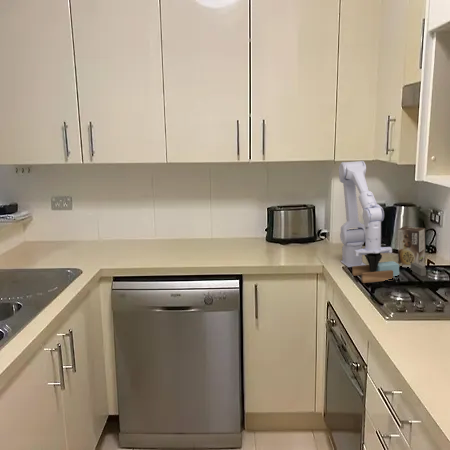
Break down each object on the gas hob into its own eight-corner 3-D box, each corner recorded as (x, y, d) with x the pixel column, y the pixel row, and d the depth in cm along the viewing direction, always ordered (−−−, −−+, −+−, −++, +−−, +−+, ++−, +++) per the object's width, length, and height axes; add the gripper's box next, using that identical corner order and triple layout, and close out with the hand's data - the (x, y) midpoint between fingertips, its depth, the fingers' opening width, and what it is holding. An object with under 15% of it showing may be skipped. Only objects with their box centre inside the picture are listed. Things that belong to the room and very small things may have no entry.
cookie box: (425, 266, 196) (426, 227, 193) (418, 269, 191) (419, 230, 188) (404, 262, 202) (404, 225, 199) (397, 266, 198) (397, 228, 195)
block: (373, 275, 188) (373, 262, 187) (393, 273, 189) (393, 261, 188) (379, 278, 184) (379, 266, 183) (399, 276, 184) (399, 264, 183)
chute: (352, 274, 190) (352, 266, 190) (380, 271, 192) (380, 263, 191) (363, 282, 180) (363, 274, 179) (393, 279, 181) (393, 271, 181)
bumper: (410, 270, 192) (410, 263, 191) (415, 269, 192) (415, 262, 191) (421, 275, 184) (421, 268, 183) (425, 275, 184) (426, 268, 183)
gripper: (359, 241, 178) (359, 276, 181) (395, 238, 180) (395, 273, 182) (352, 237, 185) (352, 271, 188) (387, 234, 186) (387, 267, 189)
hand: (373, 271), depth 185 cm, fingers closed
